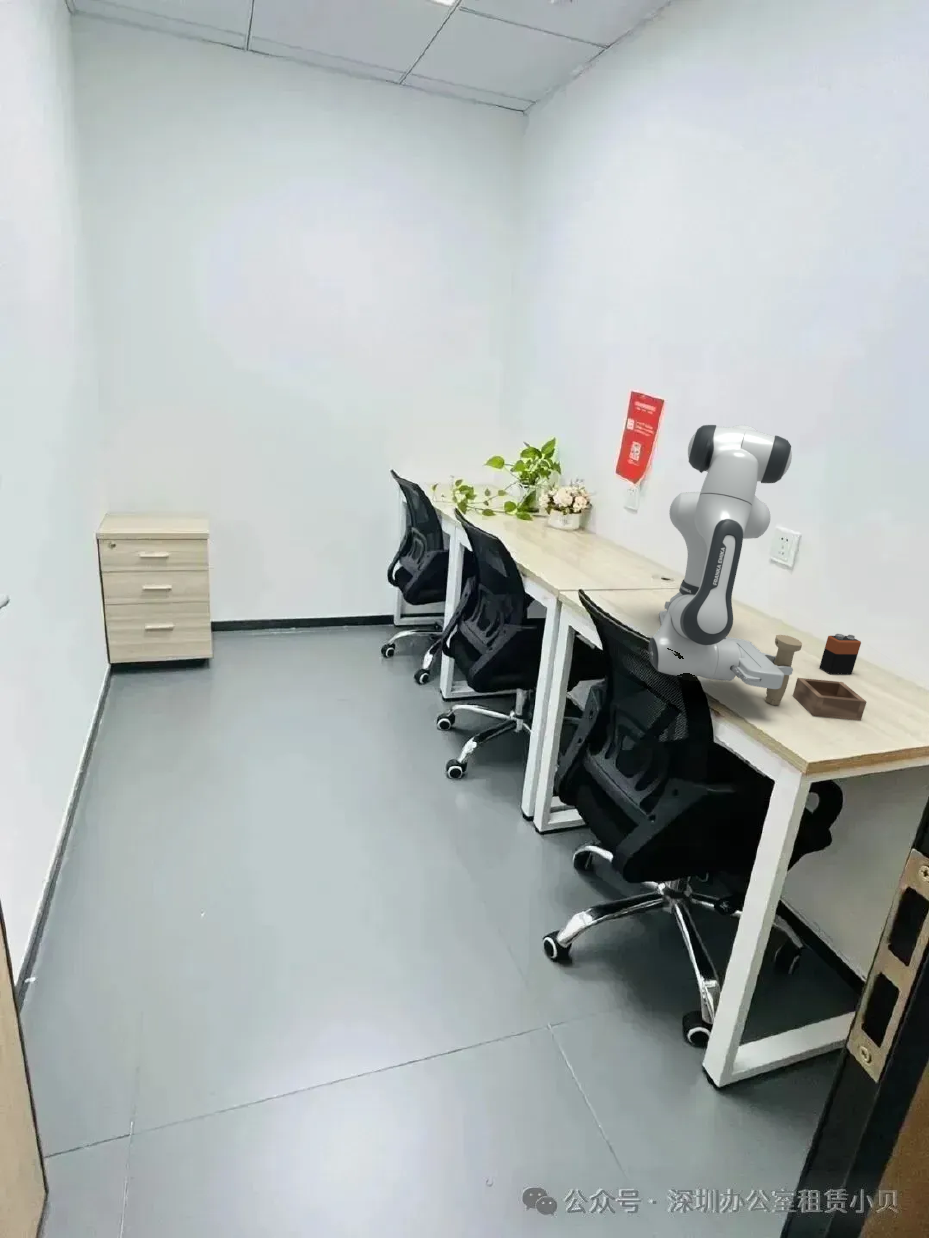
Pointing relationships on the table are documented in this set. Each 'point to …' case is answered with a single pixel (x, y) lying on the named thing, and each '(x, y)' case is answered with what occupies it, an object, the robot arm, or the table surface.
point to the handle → (783, 657)
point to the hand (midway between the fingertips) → (786, 665)
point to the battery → (840, 654)
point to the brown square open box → (829, 699)
